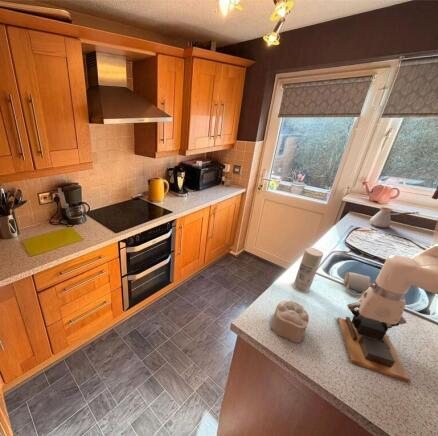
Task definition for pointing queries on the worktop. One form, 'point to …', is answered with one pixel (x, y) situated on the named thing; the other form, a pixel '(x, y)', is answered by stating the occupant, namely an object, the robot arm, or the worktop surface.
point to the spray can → (307, 269)
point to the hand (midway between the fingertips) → (367, 328)
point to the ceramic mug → (356, 283)
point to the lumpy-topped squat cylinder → (290, 320)
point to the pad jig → (371, 351)
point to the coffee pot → (384, 217)
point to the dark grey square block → (371, 328)
